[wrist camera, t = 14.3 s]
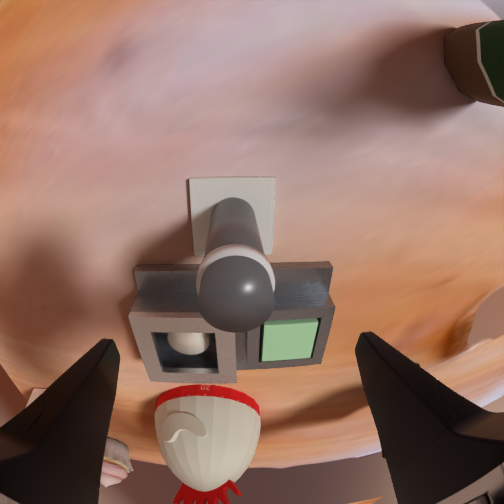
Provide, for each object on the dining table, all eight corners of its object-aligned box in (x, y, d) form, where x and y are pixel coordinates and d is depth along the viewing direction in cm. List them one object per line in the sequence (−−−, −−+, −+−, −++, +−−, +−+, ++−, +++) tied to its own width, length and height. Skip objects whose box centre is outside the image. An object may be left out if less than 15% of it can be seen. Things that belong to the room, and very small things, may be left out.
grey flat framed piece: (310, 358, 29) (318, 388, 25) (161, 362, 28) (155, 392, 24) (329, 261, 23) (346, 289, 20) (136, 265, 22) (121, 294, 18)
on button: (305, 342, 26) (310, 357, 24) (259, 345, 26) (261, 361, 24) (312, 307, 24) (318, 322, 22) (261, 309, 24) (264, 325, 22)
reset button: (211, 343, 25) (210, 354, 24) (173, 343, 25) (171, 354, 24) (208, 314, 23) (207, 325, 22) (166, 314, 23) (164, 324, 22)
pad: (271, 252, 22) (271, 254, 22) (194, 253, 22) (194, 255, 22) (274, 176, 20) (275, 177, 19) (189, 177, 19) (189, 178, 19)
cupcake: (106, 450, 41) (99, 489, 32) (81, 429, 37) (69, 473, 28) (144, 454, 41) (139, 497, 32) (120, 434, 37) (112, 483, 28)
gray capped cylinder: (258, 194, 20) (283, 266, 11) (257, 240, 21) (276, 334, 13) (207, 195, 20) (189, 268, 11) (209, 241, 21) (197, 336, 12)
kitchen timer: (136, 393, 31) (117, 498, 17) (235, 373, 29) (243, 502, 16) (188, 437, 37) (186, 520, 24) (272, 423, 36) (285, 514, 22)
